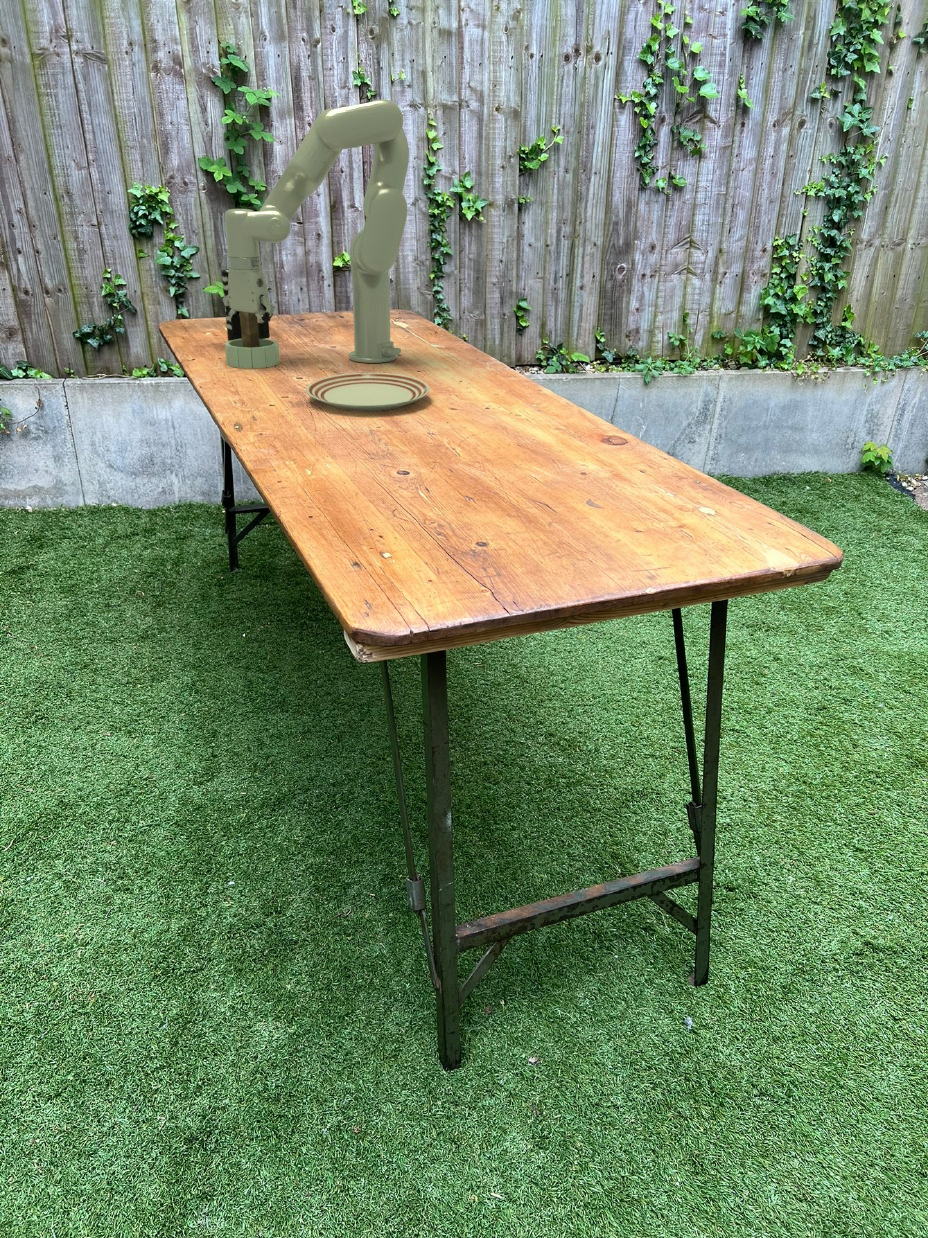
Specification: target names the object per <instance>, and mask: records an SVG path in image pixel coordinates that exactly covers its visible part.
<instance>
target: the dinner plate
mask: <svg viewBox="0 0 928 1238" xmlns="http://www.w3.org/2000/svg"><path fill="white" fill-rule="evenodd" d="M430 391H431V387H430V386H429V385H428V383H426V382H425V381H424V380H421V379H420V378H417V377H413V376H409V375H405V374H398V373H397V374H396V373H386V372H354V373H353V372H352V373H344V374H343V373H342V374H335V375H331V376H327V377H326V376H325V377H322V378H319V379H317V380H315V381H313V382H310V384H308V385H307V387H306V389H305V392H306V393H307V395H308V396H309V397H310V398H312V399H315V400H317V401H319V402H322V403H324V404H327V405H330V406H332V407H335V408H338V409H343V410H348V411H360V412H364V411H365V412H374V411H375V412H377V411H378V412H379V411H386V410H387V411H389V410H393V409H398V408H400V407H404V406H406V405H410V404H412V403H415V402H418V401H419V400H421V399H423V398H425V397H426V396H427V395H428V394H429V393H430Z"/></svg>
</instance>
